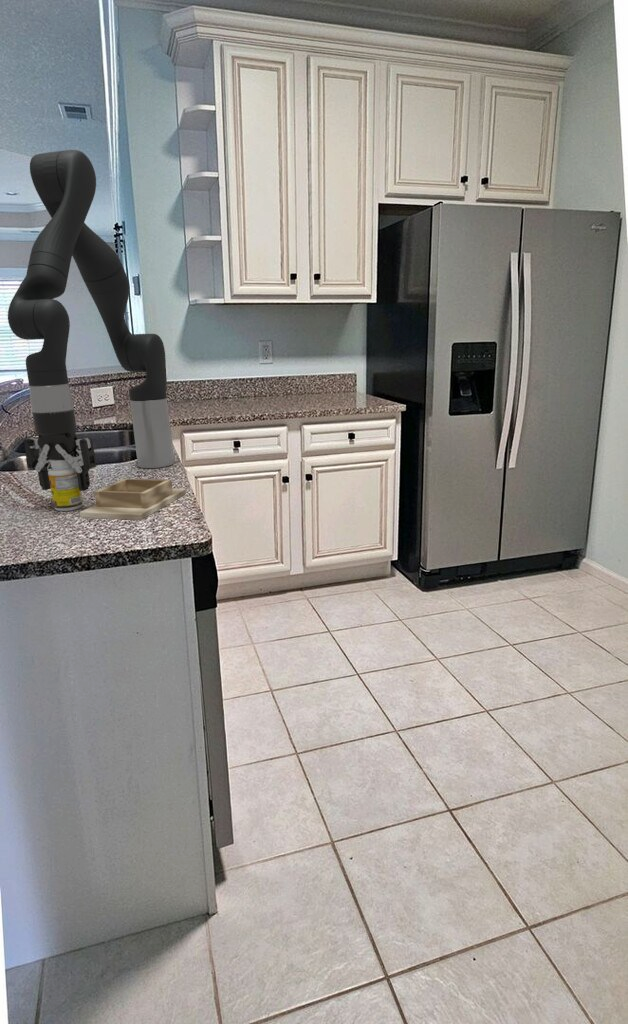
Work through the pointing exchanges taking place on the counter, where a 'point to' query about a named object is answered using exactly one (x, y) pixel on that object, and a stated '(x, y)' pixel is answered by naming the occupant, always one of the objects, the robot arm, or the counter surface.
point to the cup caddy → (132, 499)
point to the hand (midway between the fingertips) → (65, 489)
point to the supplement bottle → (64, 486)
